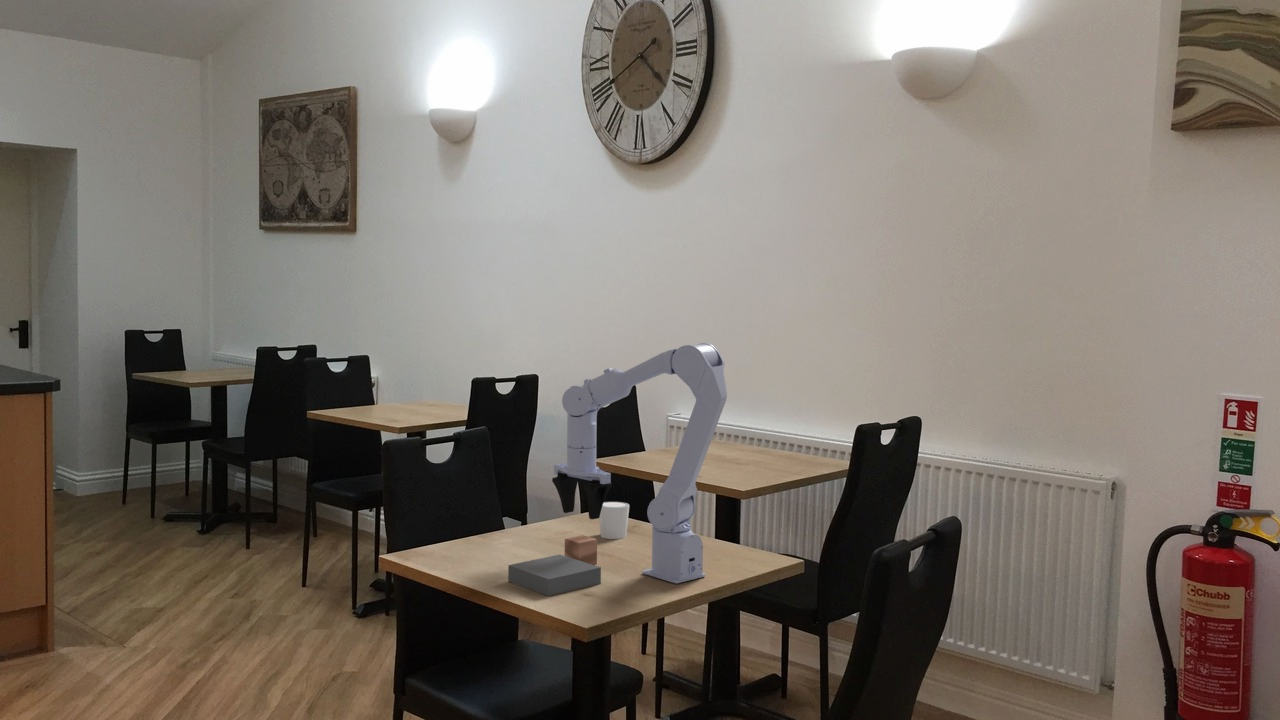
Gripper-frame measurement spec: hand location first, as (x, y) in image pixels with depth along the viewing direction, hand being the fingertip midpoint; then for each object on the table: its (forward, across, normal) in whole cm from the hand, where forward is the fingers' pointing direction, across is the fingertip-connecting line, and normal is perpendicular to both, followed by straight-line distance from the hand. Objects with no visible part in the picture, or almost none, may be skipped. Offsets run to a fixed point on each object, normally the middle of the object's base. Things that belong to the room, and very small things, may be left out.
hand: (581, 515), depth 202 cm
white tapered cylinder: (+10, +12, -20) cm, 25 cm away
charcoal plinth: (+9, -7, +13) cm, 17 cm away
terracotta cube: (+10, -1, +1) cm, 10 cm away
